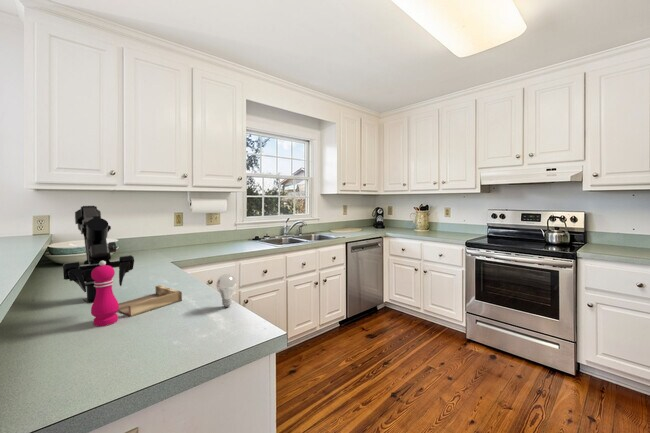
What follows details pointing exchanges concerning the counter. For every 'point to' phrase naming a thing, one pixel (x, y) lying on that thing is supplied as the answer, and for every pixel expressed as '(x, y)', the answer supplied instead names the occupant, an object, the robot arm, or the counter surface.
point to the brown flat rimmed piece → (151, 301)
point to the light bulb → (226, 288)
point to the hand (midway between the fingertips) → (103, 288)
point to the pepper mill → (104, 296)
